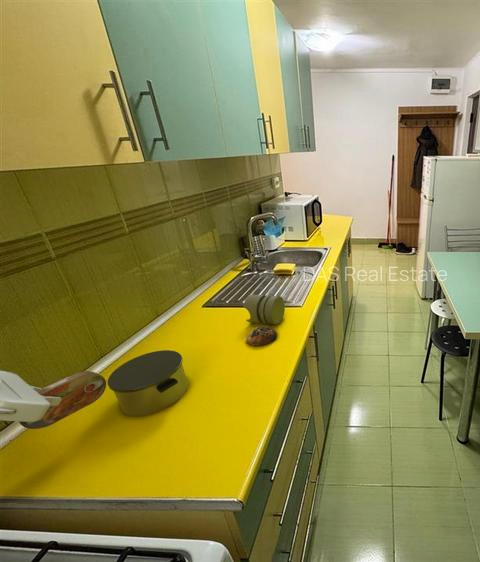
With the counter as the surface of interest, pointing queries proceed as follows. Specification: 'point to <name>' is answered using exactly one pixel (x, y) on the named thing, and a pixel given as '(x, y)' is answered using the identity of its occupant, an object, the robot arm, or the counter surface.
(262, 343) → the bread roll
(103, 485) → the counter surface
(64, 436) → the counter surface
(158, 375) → the stockpot
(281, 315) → the piston
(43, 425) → the tin
